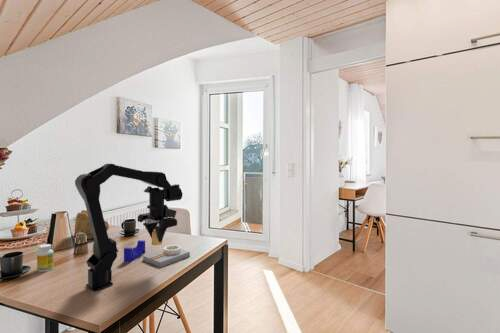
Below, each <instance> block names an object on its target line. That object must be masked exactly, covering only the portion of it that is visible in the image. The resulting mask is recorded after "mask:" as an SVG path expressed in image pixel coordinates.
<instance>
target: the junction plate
mask: <svg viewBox="0 0 500 333" xmlns="http://www.w3.org/2000/svg"><path fill="white" fill-rule="evenodd" d="M190 256H191V251H188V250H185V249H183V248H182V246H181V245H178V244H170V245H166V246H164V248H163V249H161V250H158V251H154V252H151V253H148V254H143V255H142V261H143V262H146V263H149V264H151V265H154V266H157V267H159V268H162V267H163V266H167V265H170V264H172V263H175V262H177V261H180V260H183V259H185V258H188V257H190Z"/></svg>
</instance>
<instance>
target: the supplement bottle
mask: <svg viewBox="0 0 500 333" xmlns="http://www.w3.org/2000/svg"><path fill="white" fill-rule="evenodd" d="M38 250H39V251H37V253H36V264H37V265H36V268H37V271H38V273H39V272H42V273H43V272H48V271H51V270H53V269H54V267H55V266H54V264H55V263H54V260H55V258H54V256H55V255H54V250H53V249H52V244H50V243H47V244H40V245H39V246H38Z"/></svg>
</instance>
